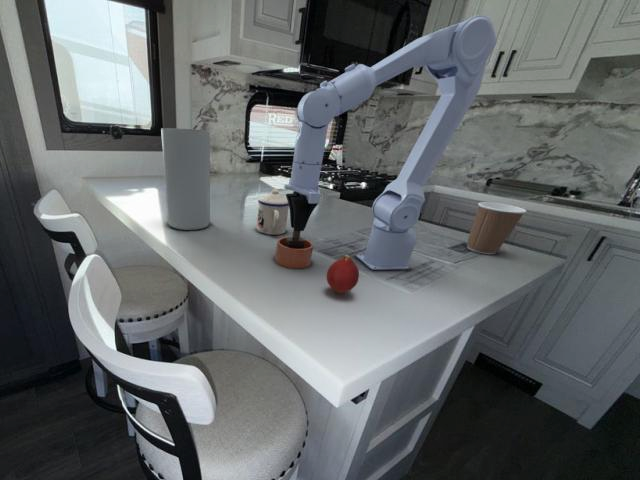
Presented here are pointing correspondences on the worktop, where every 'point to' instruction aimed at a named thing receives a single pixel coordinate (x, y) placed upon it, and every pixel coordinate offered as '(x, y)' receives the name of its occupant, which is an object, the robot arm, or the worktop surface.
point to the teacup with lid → (272, 213)
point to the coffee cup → (492, 226)
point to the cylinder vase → (187, 177)
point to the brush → (295, 241)
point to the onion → (343, 275)
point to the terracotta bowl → (293, 254)
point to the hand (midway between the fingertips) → (297, 228)
